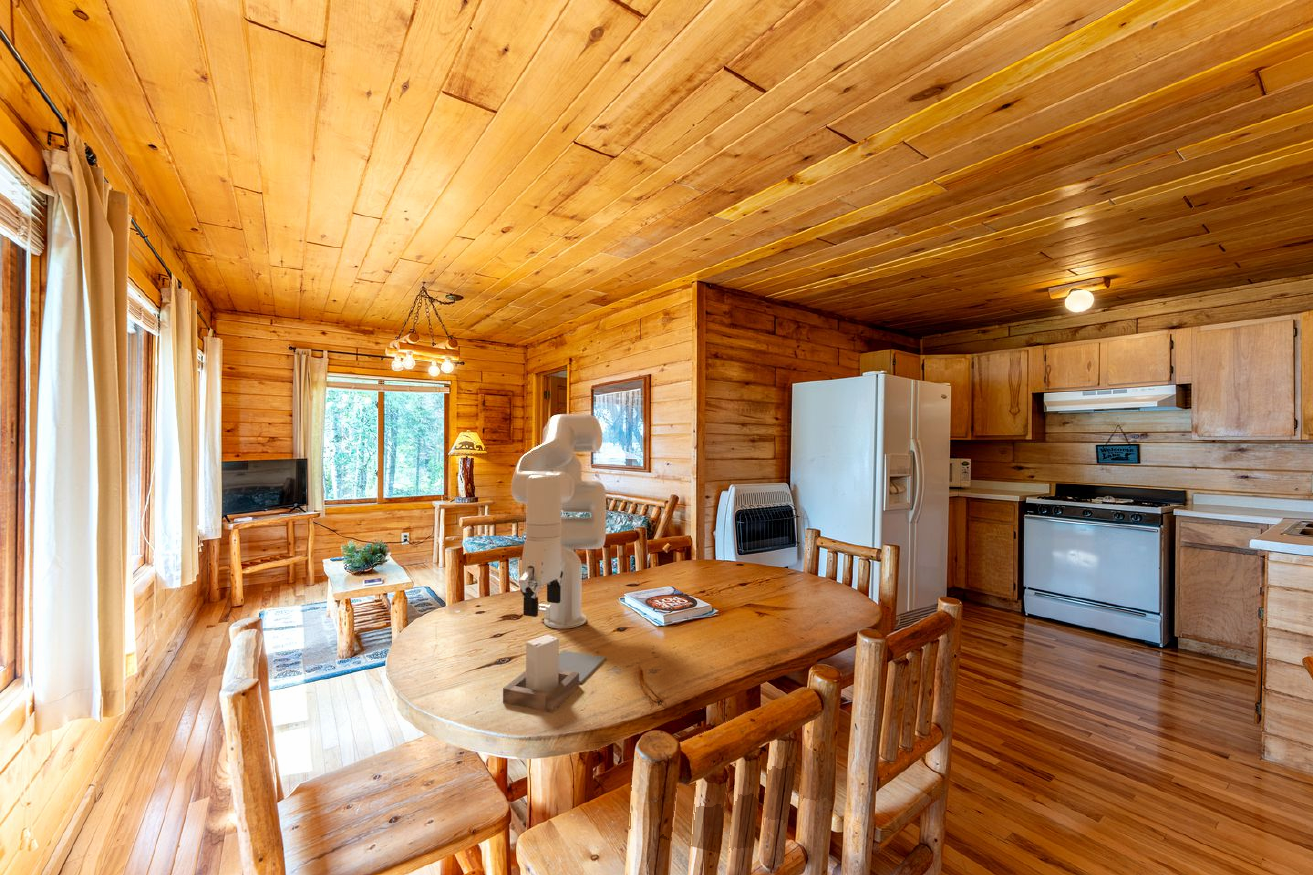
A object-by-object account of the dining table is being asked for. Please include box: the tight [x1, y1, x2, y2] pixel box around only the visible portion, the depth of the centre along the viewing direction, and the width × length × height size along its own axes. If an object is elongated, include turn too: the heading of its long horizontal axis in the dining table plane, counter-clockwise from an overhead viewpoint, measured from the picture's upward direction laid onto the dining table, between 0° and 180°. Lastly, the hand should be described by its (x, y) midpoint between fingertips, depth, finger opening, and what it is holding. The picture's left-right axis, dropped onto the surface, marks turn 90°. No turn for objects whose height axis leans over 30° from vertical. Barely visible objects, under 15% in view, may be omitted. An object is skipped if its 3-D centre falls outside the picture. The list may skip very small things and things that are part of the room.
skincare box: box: [525, 634, 560, 693], centre depth 119 cm, size 6×4×12 cm
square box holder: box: [502, 670, 580, 713], centre depth 119 cm, size 12×12×3 cm
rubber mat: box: [559, 649, 607, 685], centre depth 133 cm, size 12×14×1 cm
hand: (542, 608), depth 118 cm, fingers open, 9 cm apart
